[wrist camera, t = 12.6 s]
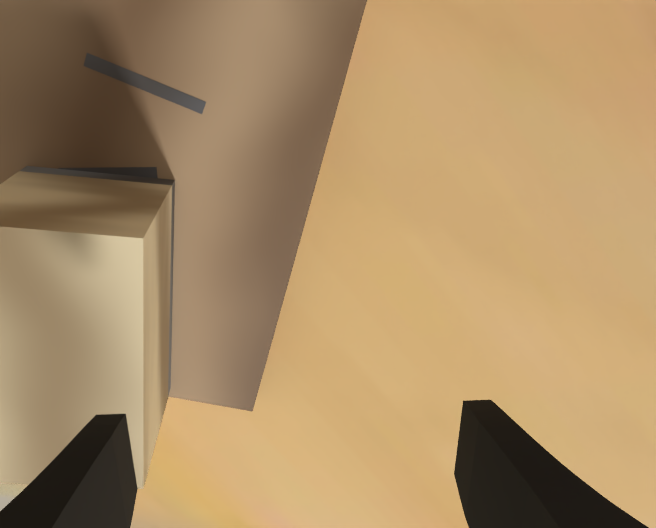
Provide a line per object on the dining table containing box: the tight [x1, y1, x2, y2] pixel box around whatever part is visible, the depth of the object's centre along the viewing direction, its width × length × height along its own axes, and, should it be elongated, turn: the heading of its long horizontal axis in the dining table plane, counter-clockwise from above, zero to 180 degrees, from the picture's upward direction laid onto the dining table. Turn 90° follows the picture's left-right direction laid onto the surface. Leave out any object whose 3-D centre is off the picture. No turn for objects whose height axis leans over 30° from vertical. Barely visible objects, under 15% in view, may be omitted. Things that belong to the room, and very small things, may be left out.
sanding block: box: [0, 166, 175, 489], centre depth 18 cm, size 4×8×5 cm, turn 173°
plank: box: [0, 0, 367, 411], centre depth 19 cm, size 12×22×1 cm, turn 164°
